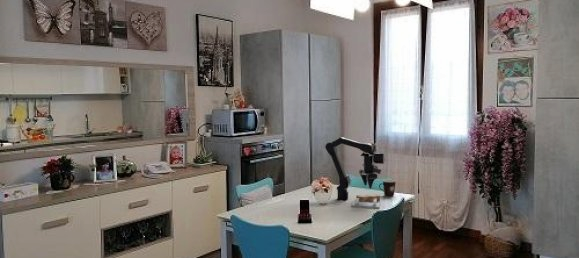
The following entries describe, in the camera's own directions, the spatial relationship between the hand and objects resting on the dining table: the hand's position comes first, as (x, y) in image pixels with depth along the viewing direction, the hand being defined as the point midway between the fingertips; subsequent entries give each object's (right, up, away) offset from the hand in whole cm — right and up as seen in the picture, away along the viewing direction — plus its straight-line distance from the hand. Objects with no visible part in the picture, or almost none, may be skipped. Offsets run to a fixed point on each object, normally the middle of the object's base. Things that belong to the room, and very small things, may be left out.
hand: (367, 186), depth 293 cm
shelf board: (0, -10, +1) cm, 10 cm away
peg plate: (-3, -10, -12) cm, 16 cm away
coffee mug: (+16, -8, +17) cm, 25 cm away
